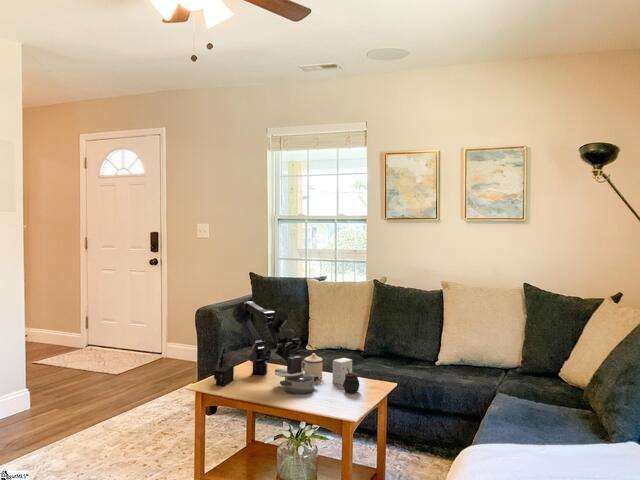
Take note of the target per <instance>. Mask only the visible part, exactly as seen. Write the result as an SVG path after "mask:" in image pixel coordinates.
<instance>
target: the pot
mask: <svg viewBox="0 0 640 480" xmlns="http://www.w3.org/2000/svg"><path fill="white" fill-rule="evenodd" d="M318 377H319V376H316V375H306V374H304V373H303V375H301V376H298V377H284V379H283V380H280V381H279V385H281V386H284V392H285V393H287V394H290V395H296V396H297V395H298V396H299V395H303V396H304V395H308V394H312V393H313V392H314V391H315V381H317V380H316V379H318Z"/></svg>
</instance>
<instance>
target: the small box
mask: <svg viewBox="0 0 640 480" xmlns="http://www.w3.org/2000/svg"><path fill="white" fill-rule="evenodd" d="M347 368H348V370H349V372H350V373H353V359H350V358H347V357H342V358H337V359H334V360H332V383H334V384H337V385H341V386H342V385H343V383H344V381H345V374H346V373H348V370H347Z"/></svg>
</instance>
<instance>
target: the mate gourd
mask: <svg viewBox="0 0 640 480" xmlns="http://www.w3.org/2000/svg"><path fill="white" fill-rule="evenodd" d="M347 370H348V368H347ZM342 386H343V390H344V391H345V393H347V394H355V393H357V392H358V391H359V389H360V381H359V379H358V373H356V372H352V373H350V372H349V370H348V373H346V374H345V381H344V383H343V384H342Z"/></svg>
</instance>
